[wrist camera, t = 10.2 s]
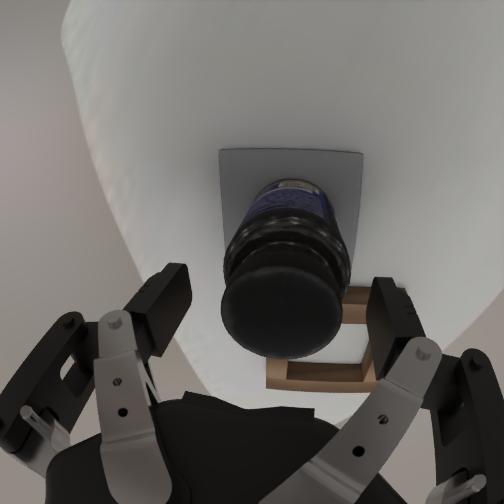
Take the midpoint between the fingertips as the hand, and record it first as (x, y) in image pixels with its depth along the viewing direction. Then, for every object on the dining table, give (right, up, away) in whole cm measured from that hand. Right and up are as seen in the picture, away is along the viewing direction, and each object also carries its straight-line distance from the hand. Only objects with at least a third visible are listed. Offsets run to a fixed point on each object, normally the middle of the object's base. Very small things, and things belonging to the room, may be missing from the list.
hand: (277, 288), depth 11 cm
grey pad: (+2, +4, +9) cm, 10 cm away
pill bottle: (+2, +4, +8) cm, 10 cm away
